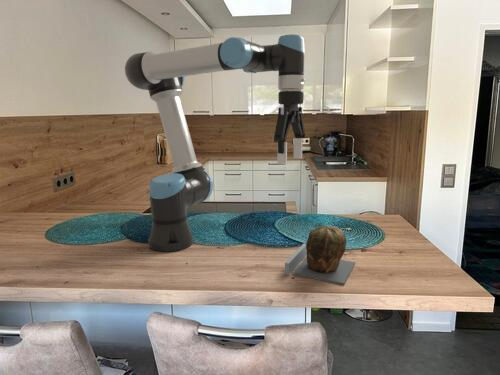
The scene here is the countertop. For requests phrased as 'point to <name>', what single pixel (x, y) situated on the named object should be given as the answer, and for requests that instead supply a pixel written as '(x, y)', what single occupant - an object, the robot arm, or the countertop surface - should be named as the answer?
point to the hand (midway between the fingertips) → (290, 161)
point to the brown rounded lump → (325, 248)
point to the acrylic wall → (295, 259)
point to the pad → (334, 277)
